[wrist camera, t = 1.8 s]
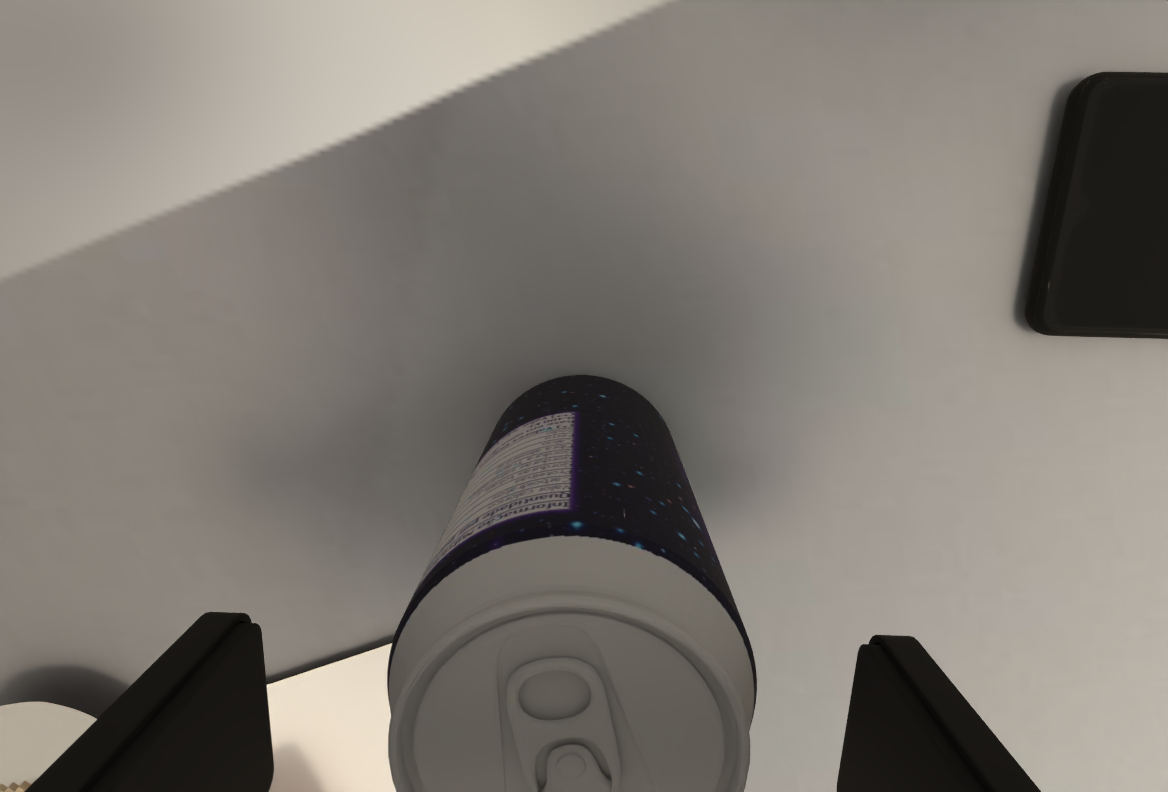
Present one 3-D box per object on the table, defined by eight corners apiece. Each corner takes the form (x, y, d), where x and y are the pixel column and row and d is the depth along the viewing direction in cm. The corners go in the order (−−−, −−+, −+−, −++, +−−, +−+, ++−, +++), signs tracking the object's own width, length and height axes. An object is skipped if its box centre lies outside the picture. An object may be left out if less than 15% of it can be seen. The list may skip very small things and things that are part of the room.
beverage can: (512, 552, 21) (416, 947, 10) (473, 386, 20) (303, 611, 8) (685, 523, 21) (802, 896, 9) (657, 352, 19) (753, 536, 8)
